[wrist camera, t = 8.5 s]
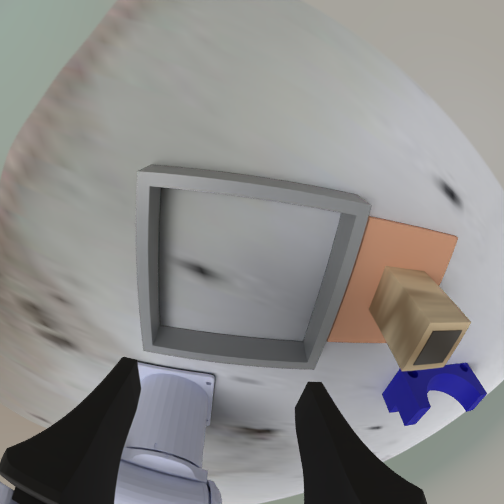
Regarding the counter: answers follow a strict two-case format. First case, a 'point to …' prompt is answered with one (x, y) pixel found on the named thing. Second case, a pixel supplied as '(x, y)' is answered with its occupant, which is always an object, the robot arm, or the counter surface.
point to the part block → (417, 319)
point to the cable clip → (422, 381)
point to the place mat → (372, 266)
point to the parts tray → (227, 345)
